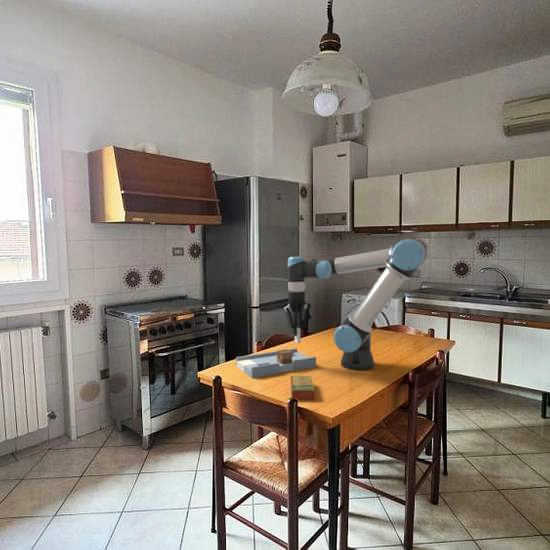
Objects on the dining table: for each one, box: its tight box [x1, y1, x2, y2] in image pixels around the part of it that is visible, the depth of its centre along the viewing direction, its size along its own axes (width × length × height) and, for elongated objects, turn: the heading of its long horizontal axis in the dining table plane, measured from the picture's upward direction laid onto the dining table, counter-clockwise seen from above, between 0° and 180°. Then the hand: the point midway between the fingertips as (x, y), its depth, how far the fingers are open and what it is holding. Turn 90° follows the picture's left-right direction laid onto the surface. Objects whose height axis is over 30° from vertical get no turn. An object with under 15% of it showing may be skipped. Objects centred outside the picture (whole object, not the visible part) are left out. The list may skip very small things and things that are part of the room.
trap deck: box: [235, 347, 317, 379], centre depth 183 cm, size 18×32×4 cm, turn 118°
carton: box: [290, 375, 316, 401], centre depth 152 cm, size 8×16×4 cm, turn 0°
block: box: [276, 348, 292, 364], centre depth 180 cm, size 5×5×5 cm
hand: (297, 342), depth 182 cm, fingers closed
